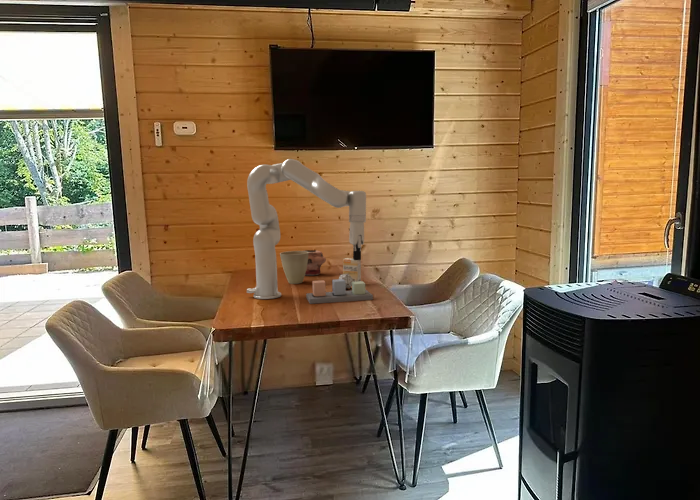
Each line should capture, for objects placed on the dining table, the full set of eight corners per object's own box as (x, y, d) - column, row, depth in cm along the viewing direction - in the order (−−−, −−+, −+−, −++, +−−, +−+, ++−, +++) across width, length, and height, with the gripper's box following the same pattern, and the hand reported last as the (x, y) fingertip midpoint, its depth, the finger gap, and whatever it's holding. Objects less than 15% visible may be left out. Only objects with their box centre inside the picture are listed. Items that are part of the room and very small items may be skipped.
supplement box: (342, 284, 252) (342, 259, 250) (346, 282, 256) (346, 257, 255) (357, 285, 249) (357, 259, 247) (361, 283, 253) (360, 258, 252)
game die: (348, 297, 239) (352, 283, 232) (332, 290, 240) (335, 276, 233) (354, 285, 245) (358, 271, 239) (339, 279, 247) (342, 265, 240)
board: (309, 303, 211) (309, 299, 211) (306, 297, 223) (306, 293, 223) (372, 299, 217) (372, 295, 217) (366, 293, 229) (366, 289, 228)
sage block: (354, 297, 219) (354, 283, 218) (352, 294, 224) (351, 281, 223) (365, 296, 220) (365, 283, 219) (362, 294, 225) (362, 281, 224)
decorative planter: (290, 277, 275) (289, 252, 273) (292, 273, 287) (291, 249, 285) (325, 276, 275) (325, 251, 273) (326, 272, 287) (325, 248, 285)
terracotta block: (314, 296, 215) (314, 283, 214) (312, 294, 220) (312, 280, 219) (325, 295, 216) (325, 282, 215) (323, 293, 221) (323, 280, 220)
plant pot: (305, 279, 268) (305, 250, 266) (312, 284, 254) (311, 253, 252) (278, 281, 263) (277, 251, 261) (283, 286, 249) (282, 255, 247)
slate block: (334, 295, 217) (334, 281, 216) (332, 292, 222) (332, 279, 221) (345, 294, 218) (345, 281, 217) (343, 292, 223) (343, 279, 222)
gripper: (345, 217, 224) (345, 257, 226) (352, 220, 209) (352, 262, 212) (361, 217, 225) (361, 257, 228) (369, 220, 211) (369, 262, 213)
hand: (357, 259), depth 220 cm, fingers closed
